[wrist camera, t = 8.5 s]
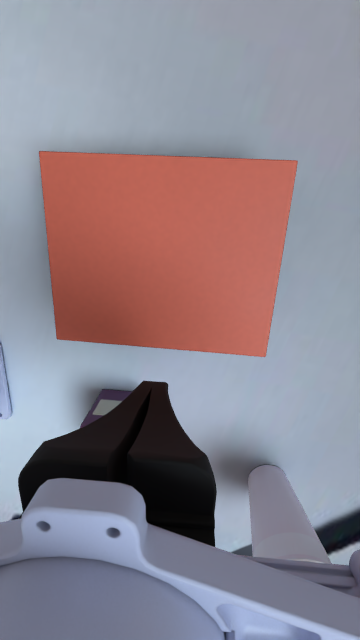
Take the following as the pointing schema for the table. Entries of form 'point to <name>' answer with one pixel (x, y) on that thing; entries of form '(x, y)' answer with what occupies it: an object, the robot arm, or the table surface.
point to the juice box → (104, 404)
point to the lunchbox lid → (166, 248)
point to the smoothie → (280, 519)
